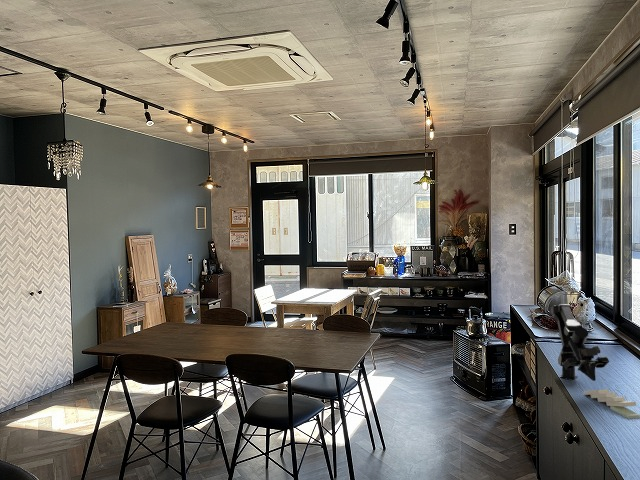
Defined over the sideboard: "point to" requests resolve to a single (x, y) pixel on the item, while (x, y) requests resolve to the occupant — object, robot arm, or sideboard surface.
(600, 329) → the sideboard surface
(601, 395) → the domino
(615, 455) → the sideboard surface
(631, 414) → the domino
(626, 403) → the domino
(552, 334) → the sideboard surface
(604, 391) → the domino
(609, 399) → the domino
